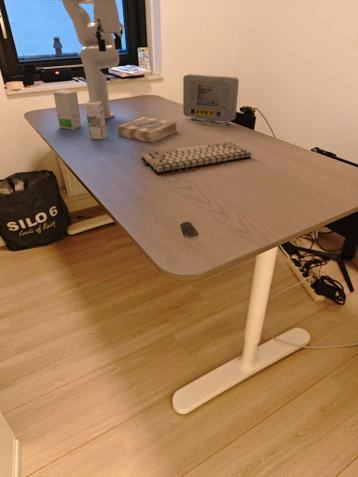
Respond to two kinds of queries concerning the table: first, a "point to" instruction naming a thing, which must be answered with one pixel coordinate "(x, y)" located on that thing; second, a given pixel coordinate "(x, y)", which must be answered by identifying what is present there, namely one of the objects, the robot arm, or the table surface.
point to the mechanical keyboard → (193, 158)
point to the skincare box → (67, 109)
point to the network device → (210, 98)
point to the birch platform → (147, 129)
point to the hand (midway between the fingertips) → (110, 50)
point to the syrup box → (96, 120)
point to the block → (188, 229)
